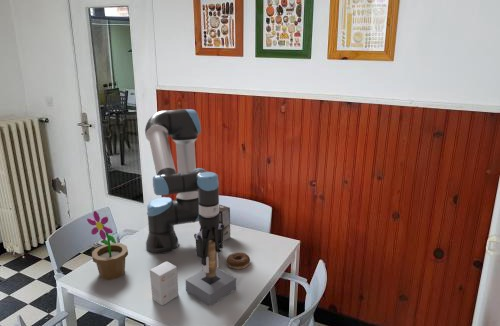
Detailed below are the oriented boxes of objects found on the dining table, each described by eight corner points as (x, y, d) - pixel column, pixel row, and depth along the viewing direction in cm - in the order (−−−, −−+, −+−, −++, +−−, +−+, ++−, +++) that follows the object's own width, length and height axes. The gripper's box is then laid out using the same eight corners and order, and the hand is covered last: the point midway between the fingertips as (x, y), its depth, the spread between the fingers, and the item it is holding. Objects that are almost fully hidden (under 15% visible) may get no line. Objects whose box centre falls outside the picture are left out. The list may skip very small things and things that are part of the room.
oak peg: (203, 274, 150) (201, 242, 146) (211, 270, 153) (210, 238, 149) (210, 279, 147) (209, 246, 143) (218, 274, 151) (217, 242, 146)
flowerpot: (86, 277, 160) (77, 211, 151) (110, 260, 173) (103, 198, 164) (114, 285, 155) (106, 217, 146) (136, 267, 168) (131, 203, 159)
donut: (247, 272, 165) (247, 264, 164) (223, 269, 167) (223, 261, 166) (252, 259, 175) (252, 251, 174) (229, 256, 177) (229, 248, 176)
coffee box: (231, 236, 195) (230, 207, 190) (223, 241, 190) (222, 211, 185) (217, 231, 200) (216, 203, 195) (208, 236, 195) (208, 207, 190)
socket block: (186, 290, 152) (185, 279, 151) (212, 275, 162) (211, 265, 161) (210, 306, 143) (209, 294, 142) (236, 289, 153) (236, 278, 152)
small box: (168, 289, 153) (166, 260, 149) (179, 295, 149) (177, 266, 145) (151, 299, 147) (149, 269, 143) (162, 306, 143) (159, 275, 139)
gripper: (198, 224, 134) (200, 282, 141) (232, 209, 147) (233, 263, 153) (184, 218, 139) (187, 274, 146) (218, 204, 151) (219, 256, 158)
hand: (210, 268), depth 150 cm, fingers closed on oak peg, 4 cm apart
